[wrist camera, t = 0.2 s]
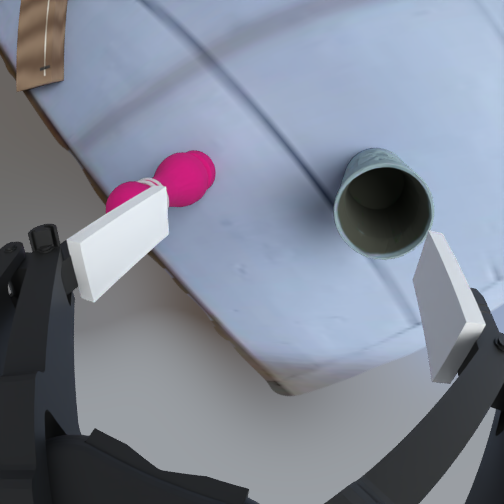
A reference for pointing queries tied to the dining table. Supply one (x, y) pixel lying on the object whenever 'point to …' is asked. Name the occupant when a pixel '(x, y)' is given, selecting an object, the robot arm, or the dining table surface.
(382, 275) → the dining table surface
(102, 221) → the robot arm
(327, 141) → the dining table surface
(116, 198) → the pepper mill
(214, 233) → the dining table surface
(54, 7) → the walnut board
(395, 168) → the green ceramic cup
